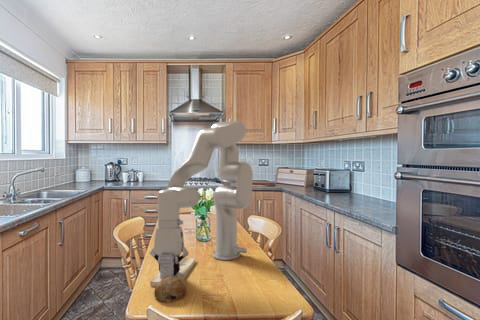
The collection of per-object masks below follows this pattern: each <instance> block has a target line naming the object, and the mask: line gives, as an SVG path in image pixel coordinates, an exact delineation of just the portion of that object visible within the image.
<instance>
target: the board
mask: <svg viewBox="0 0 480 320" xmlns="http://www.w3.org/2000/svg"><path fill="white" fill-rule="evenodd" d="M196 260H197V259H196V258H192V257H185V258H183V259H182V260H181V261H180V270H179V272H178V273H177V274H176V275H175V276H176V277H179V278H180V279H181V280H183V281H184V280H185V278H186V277H187V275H188V274H189V272H190V271H191V269H192V268H193V266H194V265H195V263H196ZM161 280H162V279H160V271H158V272H157V274H156V275H155V276H154V277H153V278H152V279H151V280H150V283H149V285H150V286H151V287H156V285H157V284H158V283H159V282H160V281H161Z"/></svg>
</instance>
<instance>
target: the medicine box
mask: <svg viewBox="0 0 480 320" xmlns="http://www.w3.org/2000/svg"><path fill="white" fill-rule="evenodd" d="M174 264H175V260H174V256H173V254H162V255H160V271H159V272H160V279H163V278H165V277H167V276H175V275H174Z"/></svg>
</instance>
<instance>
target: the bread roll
mask: <svg viewBox="0 0 480 320" xmlns="http://www.w3.org/2000/svg"><path fill="white" fill-rule="evenodd" d="M153 292H154V298H156V300H158V301H160V302H165V303H170V302H174V301H178V300H181V299H182V298H184V297H185V296H186V292H187V286H186V283H185V282H184V279H183V280H181V279H180V278H179V277H176V276H167V277H165V278H163V279H162V280H161V281H160V282H159V283H158V284H157V285H156V286H154V291H153Z"/></svg>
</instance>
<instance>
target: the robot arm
mask: <svg viewBox="0 0 480 320" xmlns="http://www.w3.org/2000/svg"><path fill="white" fill-rule="evenodd" d="M246 135H247V127H246V125H245V123H243V122H242V121H241V120H234V121H233V120H231V121H220V122H215V123H214V124H213V123H212V126H211V127H209V128H203V129H201V130H199V131H198V133H197V135H196V137H195V140H194V142H193V144H192V147H191V150H190V152H189V155H188V157H187V159H186V161H185V162H183V163H182V164H181V165H180V166H179V167H178V168H177V169H176V170H175V172H173V174H172V176H171V177H170V179H169V182H168V184H167V186H166V189H161V190H159V191H158V193H157V226H156V229H155V234H154V235H155V236H154V242H153V243H154V245H153V247H152V249H151V251H150V252H149V255H150V256H151V257H153V259H154V260H156V262H157V264H158V272H160V255H162V254H173V256H174V260H175V264H174V275H176V274H177V273H178V272H179V270H180V261H181V260H182V259H183V258H187V256H188V255H189V251H188V250H187V248H186V247H185V239H184V232H183V231H184V230H183V226H182V225H183V224H184V220H181V218H180V209H182V208H183V209H184V208H193V207H195V206H197V204H199V202H200V198H201V196H200V193H199V191H198V190H197V189H195V188H194V187H186V186H185V185H186V183H187V181H189V180H190V179H191V178H192V177H193V176H195V175H197V174H199V173H201V172H203V171H205V170H206V169H207V168H208V167H209V163H210V161H211V158H212V156H213V153H214V151H215V150H216V149H219V151H220V152H219V153H220V154H219V167H218V168H219V169H218V178H219V180H220V181H221V182H224V183H230V184H236V185H235V186H234V185H219V186H217V188H216V189H215V190H214V192H213V194H212V195H213V196H212V197H213V203H214V207H215V208H214V209H215V210H214V211H215V250H214V251H213V252H212V257H213V258H214V259H216V260H220V261H232V260H235V259H236V260H237V259H238V258H239V257H241V253H243V254H247V252H248V251H247V248H245V247H244V246H242V247H240V246H239V243H238V217H237V215H238V214H237V212H236V210H237V209H238V210H246V209H247V208H248V207H249V206H250V204H251V202H252V201H251V200H252V192H253V182H254V181H253V178H254V174H253V168H252V165H250V164H249V163H248V162H246V161H239V158H240V157H239V156H240V150H239V147H238V145H237V144H238V143H239V142H241V141H242V140H244V138H245V137H246ZM235 209H236V210H235Z"/></svg>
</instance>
